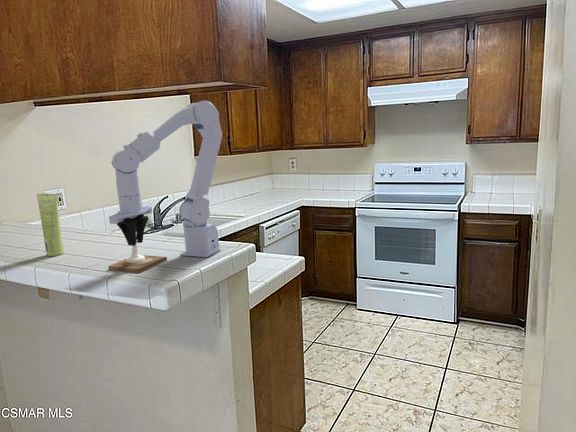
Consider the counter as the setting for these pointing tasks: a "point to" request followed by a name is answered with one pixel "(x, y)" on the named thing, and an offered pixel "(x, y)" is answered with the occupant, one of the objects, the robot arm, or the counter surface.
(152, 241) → the counter surface
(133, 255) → the chess piece
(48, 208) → the tube
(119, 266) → the pedestal
